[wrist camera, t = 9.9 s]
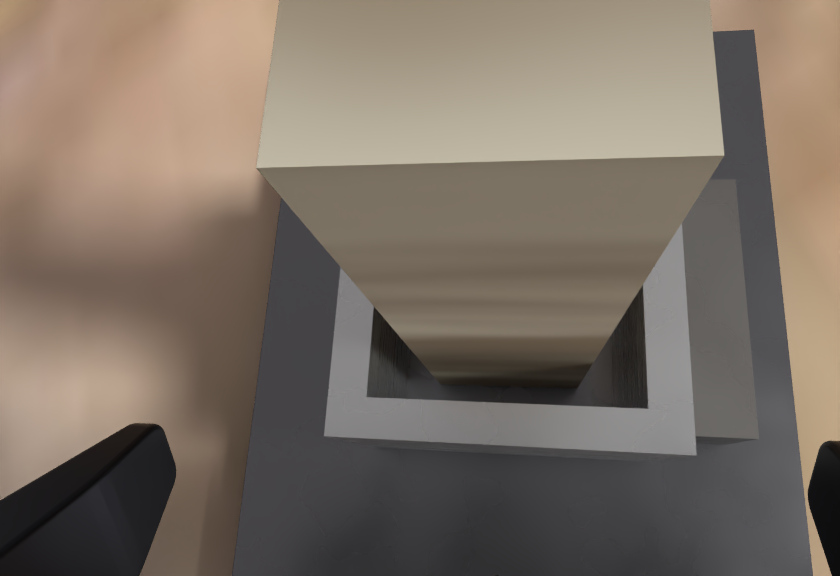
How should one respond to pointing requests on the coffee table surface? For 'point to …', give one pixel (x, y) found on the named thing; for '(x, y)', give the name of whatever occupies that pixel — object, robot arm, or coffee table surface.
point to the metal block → (494, 164)
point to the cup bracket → (543, 417)
